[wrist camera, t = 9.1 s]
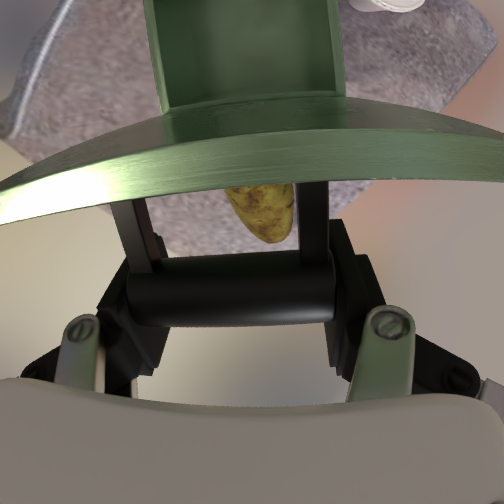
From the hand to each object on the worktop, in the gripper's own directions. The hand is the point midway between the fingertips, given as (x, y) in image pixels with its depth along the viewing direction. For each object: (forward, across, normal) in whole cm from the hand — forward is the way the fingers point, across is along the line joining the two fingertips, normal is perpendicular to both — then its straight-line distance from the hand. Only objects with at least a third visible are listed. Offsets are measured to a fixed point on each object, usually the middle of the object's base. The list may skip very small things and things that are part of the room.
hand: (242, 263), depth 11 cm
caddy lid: (+4, 0, -5) cm, 6 cm away
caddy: (+25, 0, -12) cm, 28 cm away
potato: (+25, +1, +7) cm, 26 cm away
